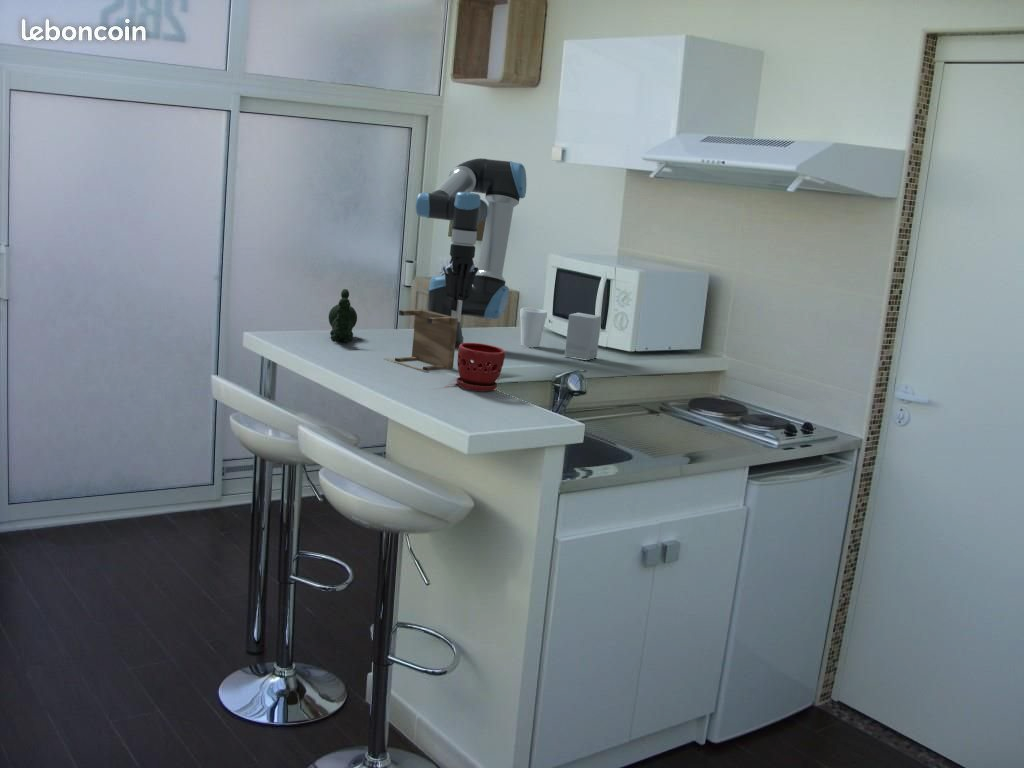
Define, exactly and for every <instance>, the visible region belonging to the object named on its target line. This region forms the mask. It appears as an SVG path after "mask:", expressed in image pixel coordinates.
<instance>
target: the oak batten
mask: <svg viewBox="0 0 1024 768" xmlns="http://www.w3.org/2000/svg"><path fill="white" fill-rule="evenodd" d="M383 360H384V361H387V362H391V363H394V364H398V365H399V366H404V367H406V368H410V369H413V370H415V371H419V372H420V371H421V372H423V373H430V370H423V368H419V367H416V366H413V365H410V364H407V363H403V362H402V361H395V359H390V358H383Z"/></svg>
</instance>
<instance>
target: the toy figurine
mask: <svg viewBox="0 0 1024 768" xmlns="http://www.w3.org/2000/svg"><path fill="white" fill-rule="evenodd" d="M340 297H341V298H340V299H339V302H338V303H337V304H336V305H334V306H333V307H332V308H331V309H330V311H329V312H328V322H329V325H330V327H331V330H330V332H329V334H330V339H331V341H332V342H336V341H345V342H348V343H351V342H352V341H353V337H354V333H353V328H355V326H356V325H357V322H358V314H357V312H356V310H355V308H354V307H353V306H352V305H351V301H350V299H349V297H350V291H349V290H348V289H346V288H343V289H342V290H341V293H340Z"/></svg>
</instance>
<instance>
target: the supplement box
mask: <svg viewBox="0 0 1024 768" xmlns="http://www.w3.org/2000/svg"><path fill="white" fill-rule="evenodd" d="M601 324H602V315H601V316H600V315H596V314H595V315H594V314H591V313H589V314H588V313H583V312H576V313H575V312H574V313H570V314H568V322H567V329H566V330H567V331H566V341H565V348H564V356H567V357H576V358H582V359H586V360H590V359H593V358H596V357H597V358H598V350H599V342H600V341H599V340H600V332H601ZM597 358H596V359H597ZM593 360H594V359H593ZM590 361H591V360H590Z"/></svg>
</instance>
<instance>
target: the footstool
mask: <svg viewBox="0 0 1024 768" xmlns="http://www.w3.org/2000/svg"><path fill="white" fill-rule="evenodd" d="M398 315H399V316H401V317H403V316H404V317H405V316H406V317H407V316H410V317H411V316H415V317H414V328H413V338H412V347H411V348H412V350H411V356H408V357H407V356H406V357H405V356H403V357H395V358H394V361H397V362H408V361H418V362H422V363H426V364H428V365H429V366H422V369H423V370H426V371H432V370H442V369H443V370H444V369H445V370H452V369H453V370H454V362H455V352H456V351H455V350H456V347H455V342H456V333H457V323H458V318H455V317H451V316H447V315H443V314H439V313H436V312H432V311H428V310H427V309H424V308H415V309H403V310H402V309H401V310H399V311H398Z"/></svg>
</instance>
